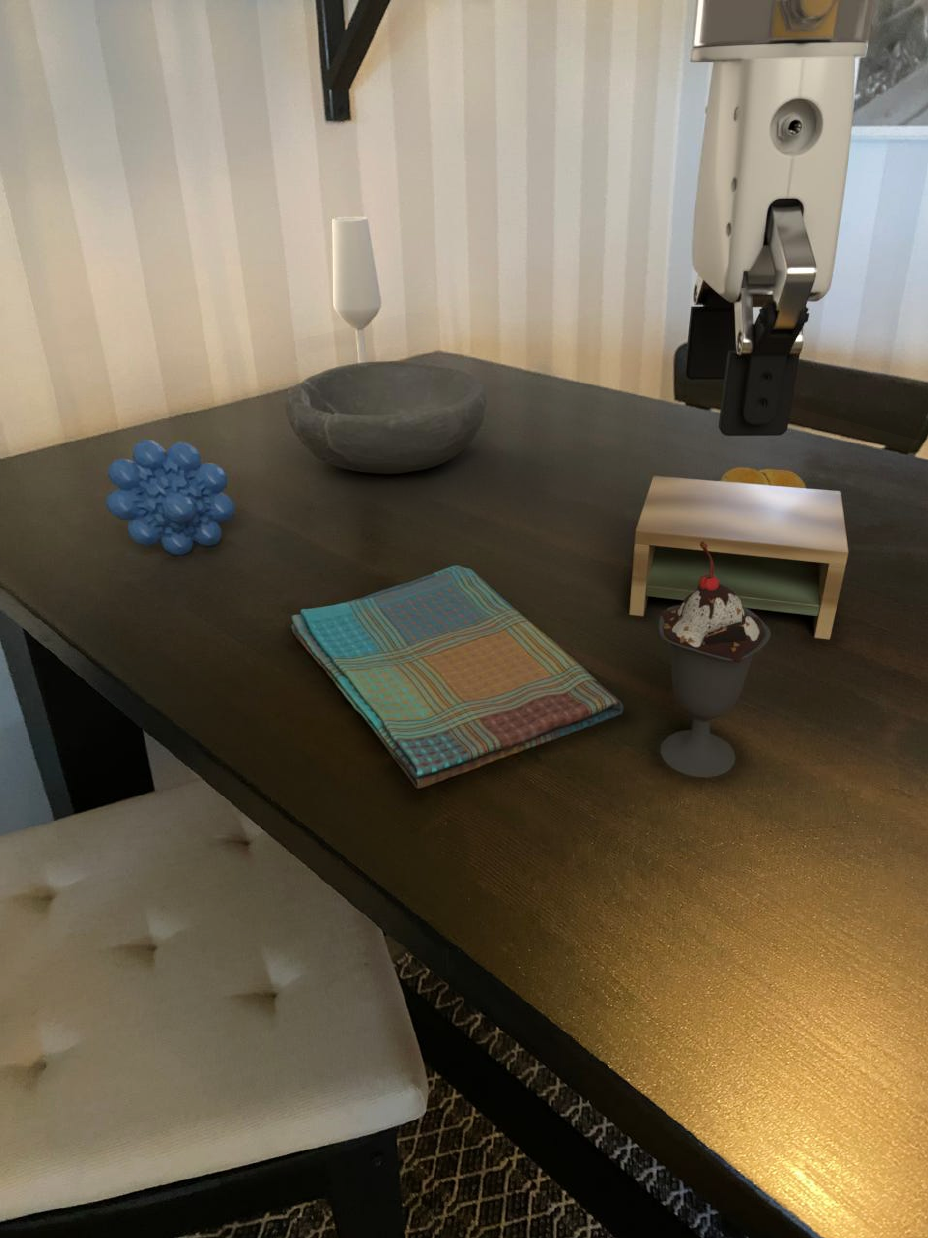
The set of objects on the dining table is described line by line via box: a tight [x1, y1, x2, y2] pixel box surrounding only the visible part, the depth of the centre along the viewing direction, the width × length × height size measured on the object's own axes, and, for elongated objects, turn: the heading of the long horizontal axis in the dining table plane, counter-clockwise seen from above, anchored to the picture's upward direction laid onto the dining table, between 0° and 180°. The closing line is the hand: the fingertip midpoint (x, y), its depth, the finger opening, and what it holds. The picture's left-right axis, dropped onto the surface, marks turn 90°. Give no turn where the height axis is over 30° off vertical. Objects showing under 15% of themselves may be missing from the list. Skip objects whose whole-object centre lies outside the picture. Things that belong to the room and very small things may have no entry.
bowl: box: [285, 360, 487, 475], centre depth 105 cm, size 23×22×10 cm
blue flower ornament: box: [106, 439, 236, 556], centre depth 85 cm, size 12×7×12 cm, turn 119°
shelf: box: [628, 475, 849, 640], centre depth 77 cm, size 12×16×8 cm
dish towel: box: [290, 564, 624, 790], centre depth 69 cm, size 17×23×2 cm
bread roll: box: [720, 466, 807, 489], centre depth 94 cm, size 8×9×4 cm
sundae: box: [658, 542, 772, 778], centre depth 57 cm, size 7×7×15 cm
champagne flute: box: [331, 215, 382, 363], centre depth 126 cm, size 7×7×24 cm
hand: (730, 403), depth 48 cm, fingers open, 9 cm apart
